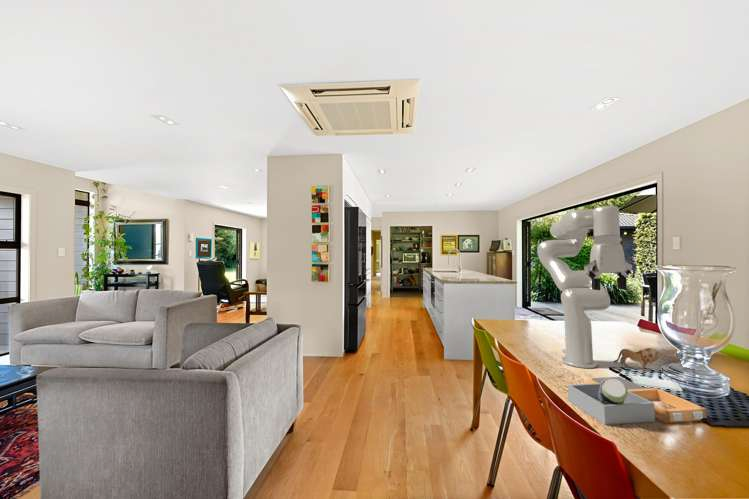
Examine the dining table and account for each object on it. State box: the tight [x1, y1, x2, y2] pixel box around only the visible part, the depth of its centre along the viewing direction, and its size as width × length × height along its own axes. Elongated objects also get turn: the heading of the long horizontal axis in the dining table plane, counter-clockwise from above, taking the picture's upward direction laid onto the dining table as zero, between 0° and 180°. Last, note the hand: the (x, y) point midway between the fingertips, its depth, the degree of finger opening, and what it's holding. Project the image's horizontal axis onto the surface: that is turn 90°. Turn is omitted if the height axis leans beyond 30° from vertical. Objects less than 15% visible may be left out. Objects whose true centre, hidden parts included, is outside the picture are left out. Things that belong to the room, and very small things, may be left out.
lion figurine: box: [613, 347, 660, 372], centre depth 126 cm, size 15×5×9 cm, turn 35°
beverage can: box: [598, 377, 628, 405], centre depth 90 cm, size 6×7×12 cm
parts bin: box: [567, 383, 656, 426], centre depth 92 cm, size 14×14×5 cm
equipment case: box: [587, 376, 708, 424], centre depth 99 cm, size 29×12×3 cm, turn 4°
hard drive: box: [629, 374, 684, 392], centre depth 110 cm, size 2×8×12 cm
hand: (609, 289), depth 111 cm, fingers open, 9 cm apart
